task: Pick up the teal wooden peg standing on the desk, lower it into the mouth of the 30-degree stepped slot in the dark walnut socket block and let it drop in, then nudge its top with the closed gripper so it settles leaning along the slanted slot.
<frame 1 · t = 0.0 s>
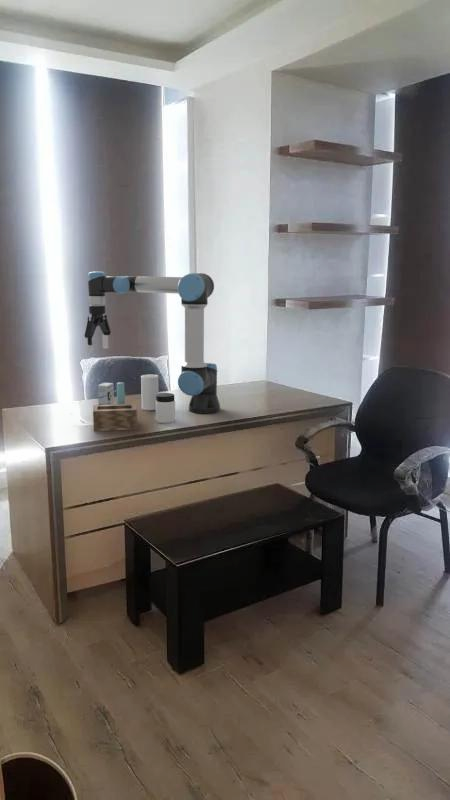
hand: (98, 350, 293), 28 cm above the table, fingers open, 13 cm apart
cup: (150, 408, 299), on the table
socket: (115, 426, 264), on the table
jar: (165, 421, 275), on the table
peg: (121, 417, 279), on the table
ink box: (106, 408, 298), on the table
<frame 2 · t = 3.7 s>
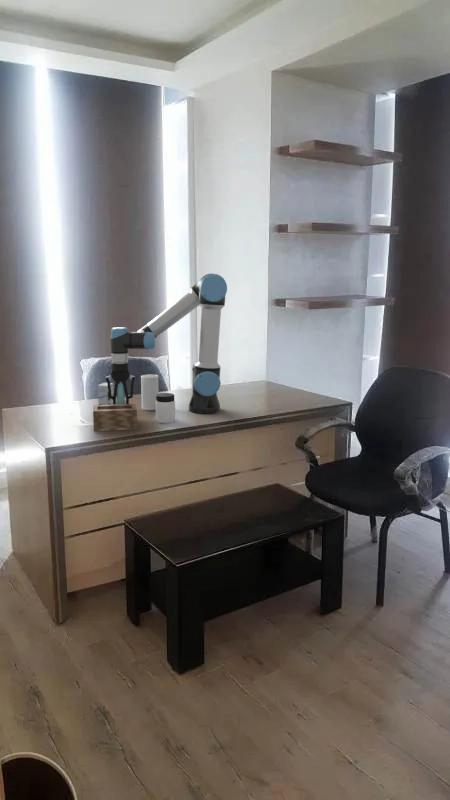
hand: (121, 413, 279), 2 cm above the table, fingers closed on peg, 3 cm apart
peg: (121, 417, 279), on the table, touching gripper
everything else where it was.
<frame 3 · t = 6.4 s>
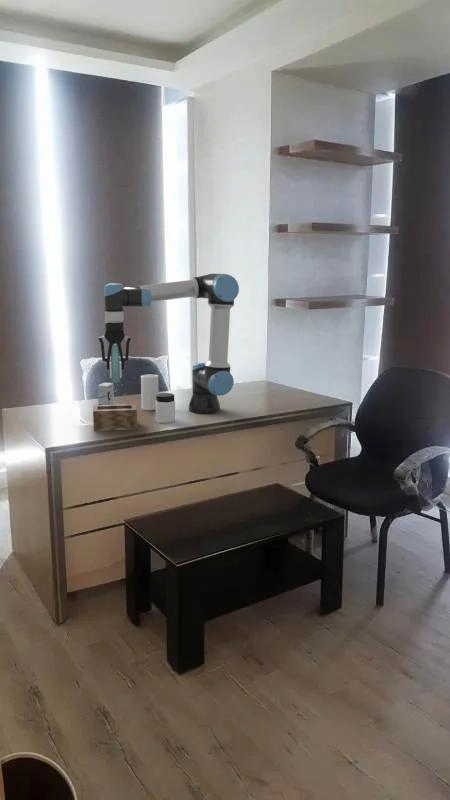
hand: (115, 377, 259), 22 cm above the table, fingers closed on peg, 3 cm apart
peg: (115, 381, 260), point 20 cm above the table, touching gripper
everything else where it was.
when the fingers open (9 cm above the table, at t = 9.0 s): peg drops 4 cm, resting on socket.
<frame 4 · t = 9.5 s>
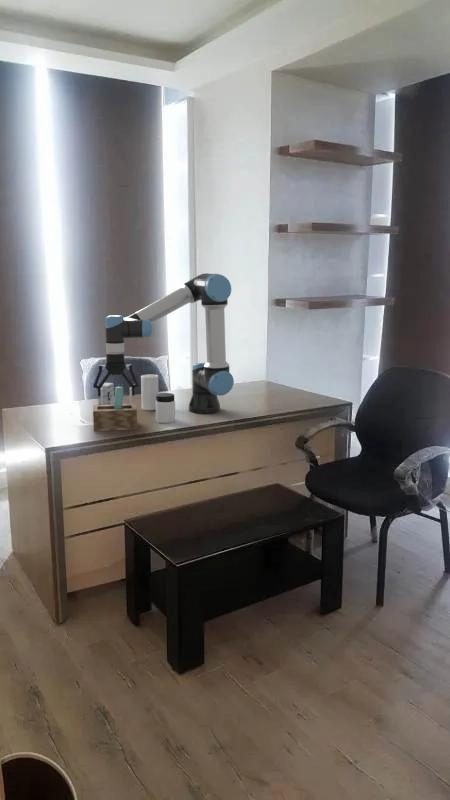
hand: (116, 403, 262), 10 cm above the table, fingers open, 11 cm apart
peg: (116, 423, 264), point 1 cm above the table, tilted 5°, touching socket
everything else where it was.
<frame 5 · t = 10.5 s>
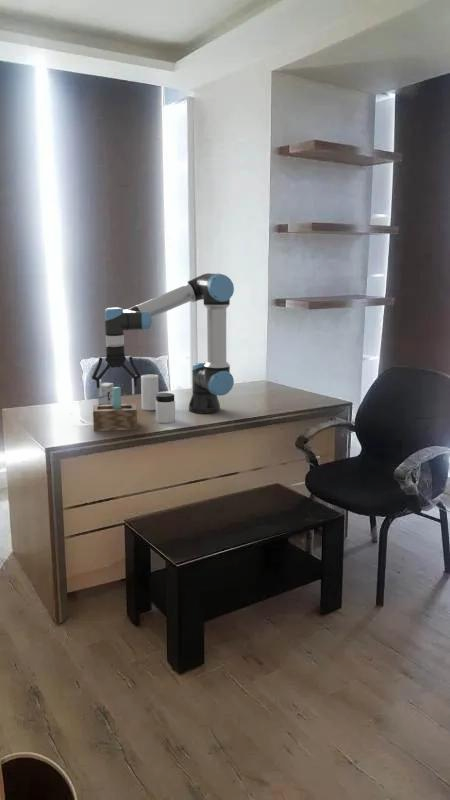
hand: (117, 394, 261), 14 cm above the table, fingers open, 13 cm apart
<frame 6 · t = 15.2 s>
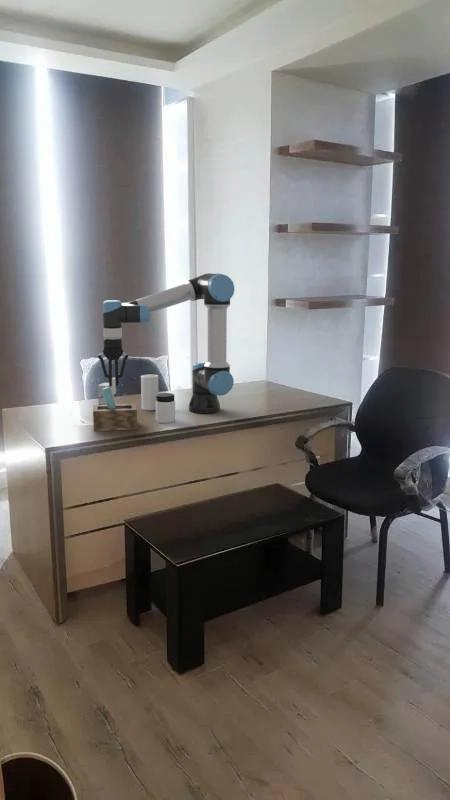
hand: (113, 393, 261), 15 cm above the table, fingers closed
peg: (116, 423, 264), point 1 cm above the table, tilted 15°, touching socket
everything else where it was.
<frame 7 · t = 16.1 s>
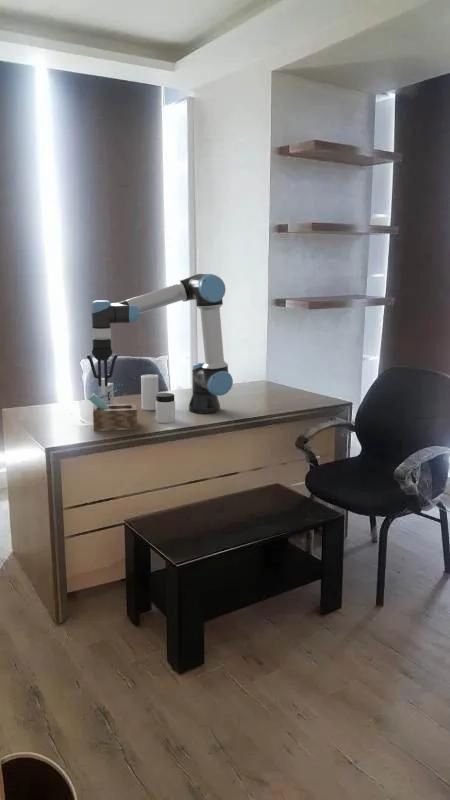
hand: (103, 393, 260), 15 cm above the table, fingers closed
peg: (118, 421, 264), point 2 cm above the table, tilted 44°, touching socket
everything else where it was.
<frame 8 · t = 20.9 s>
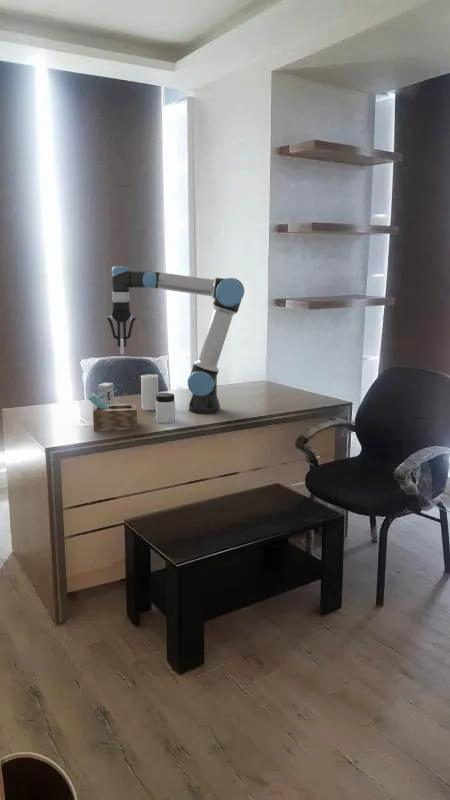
hand: (122, 353, 279), 28 cm above the table, fingers closed
nothing on the table moved.
at the end: peg inside the target area on the socket (0.1 cm from its centre), point 2.2 cm above the socket's base; peg tilted 44°; the gripper is holding nothing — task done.
